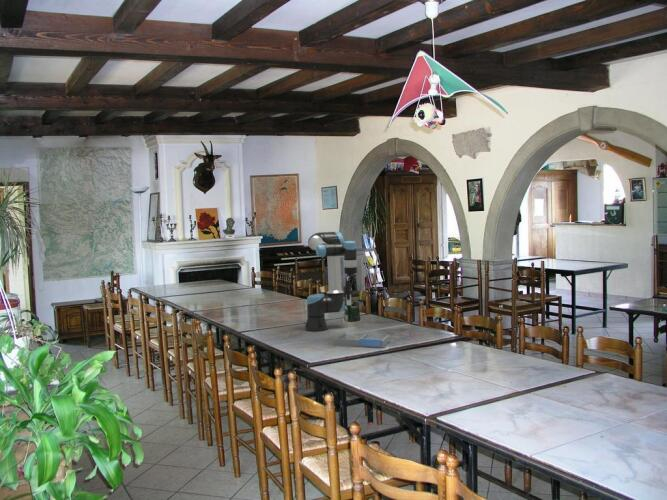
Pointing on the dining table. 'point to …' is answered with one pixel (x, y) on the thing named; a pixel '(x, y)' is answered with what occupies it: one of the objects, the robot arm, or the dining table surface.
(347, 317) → the coffee jar
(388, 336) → the divided storage rack
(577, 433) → the dining table surface
